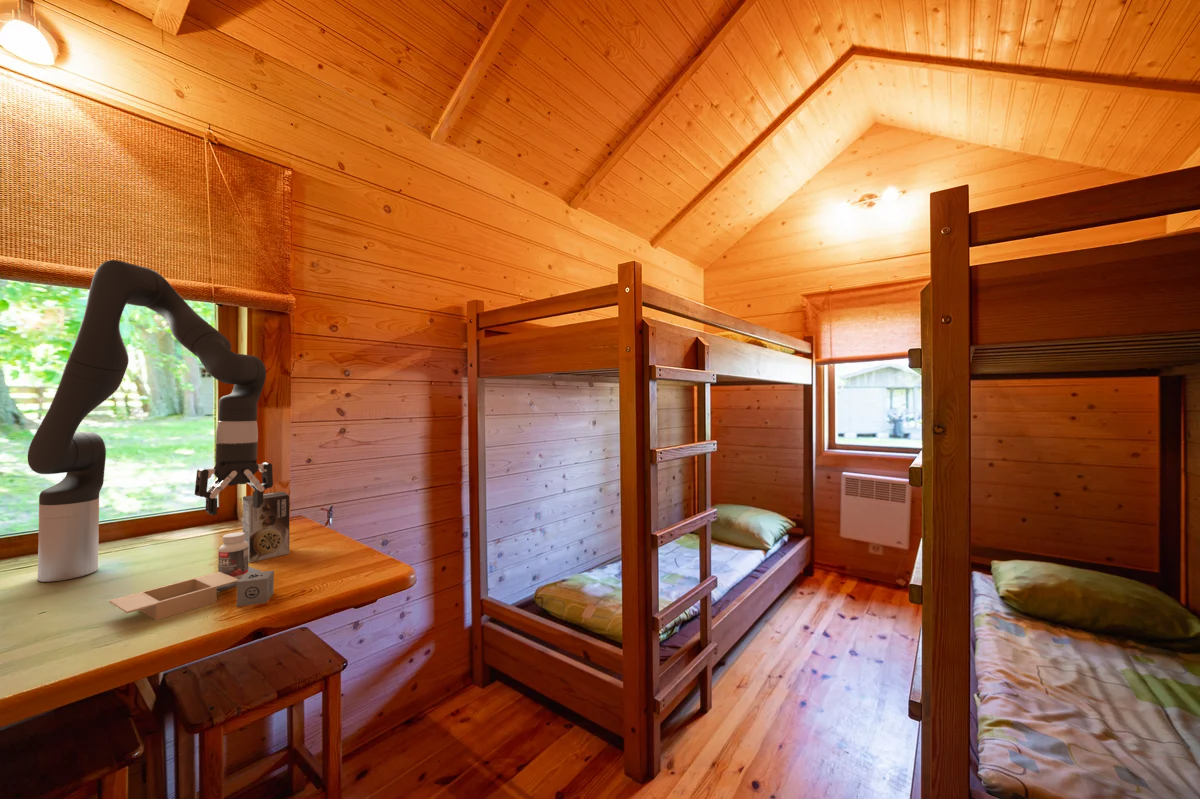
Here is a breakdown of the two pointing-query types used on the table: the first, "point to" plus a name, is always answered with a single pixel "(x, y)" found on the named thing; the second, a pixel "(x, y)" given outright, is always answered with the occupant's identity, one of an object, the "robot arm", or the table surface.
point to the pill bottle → (233, 555)
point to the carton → (175, 596)
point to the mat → (225, 587)
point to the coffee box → (266, 526)
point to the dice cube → (255, 588)
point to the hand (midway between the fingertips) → (235, 510)
